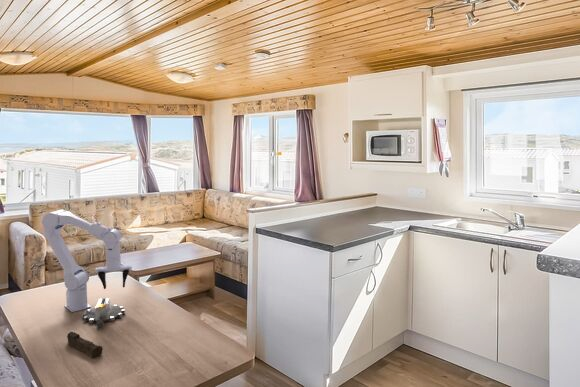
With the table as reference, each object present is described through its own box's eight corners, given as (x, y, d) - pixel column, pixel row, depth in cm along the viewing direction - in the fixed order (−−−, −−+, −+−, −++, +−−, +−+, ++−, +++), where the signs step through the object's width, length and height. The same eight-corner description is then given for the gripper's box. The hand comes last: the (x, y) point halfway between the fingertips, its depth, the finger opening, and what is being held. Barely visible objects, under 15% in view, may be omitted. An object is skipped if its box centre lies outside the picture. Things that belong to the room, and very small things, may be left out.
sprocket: (73, 321, 166) (72, 308, 165) (100, 306, 182) (99, 294, 181) (108, 325, 162) (108, 312, 162) (132, 309, 178) (132, 298, 178)
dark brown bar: (103, 355, 140) (103, 342, 140) (92, 360, 137) (91, 347, 137) (76, 340, 151) (75, 328, 151) (64, 344, 148) (64, 331, 148)
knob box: (99, 310, 173) (98, 298, 172) (109, 309, 174) (109, 297, 174) (95, 320, 164) (95, 307, 163) (106, 319, 165) (106, 306, 164)
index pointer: (98, 326, 162) (97, 320, 162) (103, 325, 163) (103, 319, 163) (97, 329, 159) (96, 323, 159) (102, 328, 160) (102, 322, 160)
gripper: (93, 261, 172) (95, 292, 173) (130, 258, 176) (131, 288, 178) (96, 256, 179) (97, 286, 180) (131, 254, 183) (132, 283, 184)
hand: (114, 287), depth 179 cm, fingers open, 7 cm apart
